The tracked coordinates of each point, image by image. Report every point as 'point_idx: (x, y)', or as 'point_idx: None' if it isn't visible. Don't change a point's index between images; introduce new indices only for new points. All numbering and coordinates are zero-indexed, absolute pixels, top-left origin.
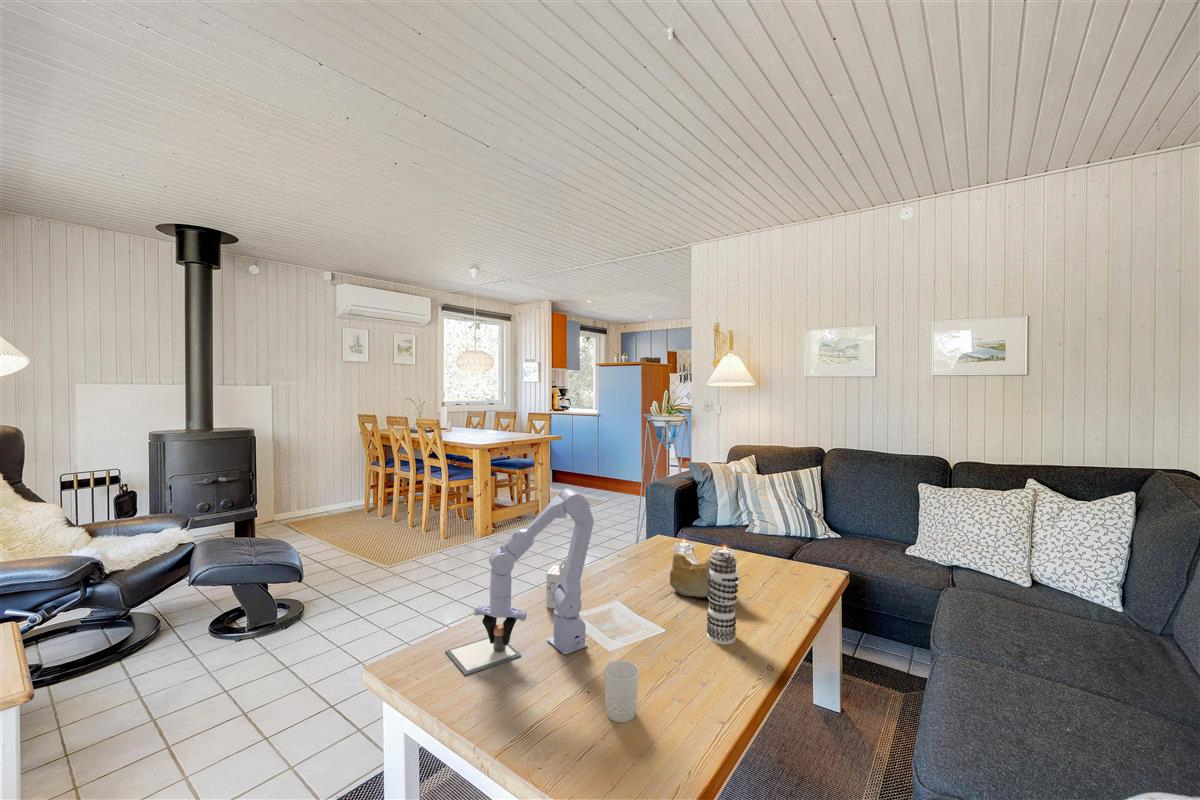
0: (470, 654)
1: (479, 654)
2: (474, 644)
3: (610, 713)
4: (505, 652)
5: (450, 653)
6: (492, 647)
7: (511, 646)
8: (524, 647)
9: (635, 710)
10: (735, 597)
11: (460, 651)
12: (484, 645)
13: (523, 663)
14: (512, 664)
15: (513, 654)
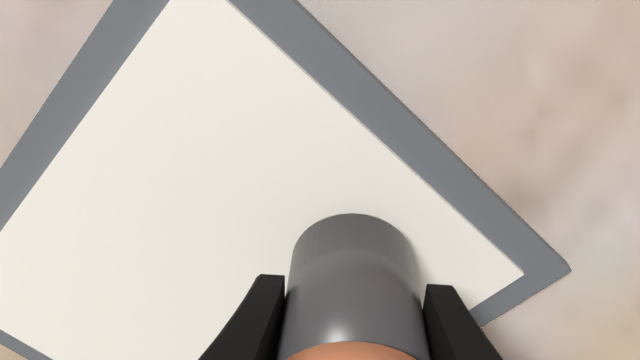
0: (139, 327)
1: (208, 319)
2: (67, 192)
3: None
4: (416, 266)
5: None
6: (263, 213)
7: (445, 150)
8: (586, 110)
9: None
10: None
11: (36, 303)
12: (169, 193)
13: (595, 336)
14: (506, 354)
15: (500, 286)
